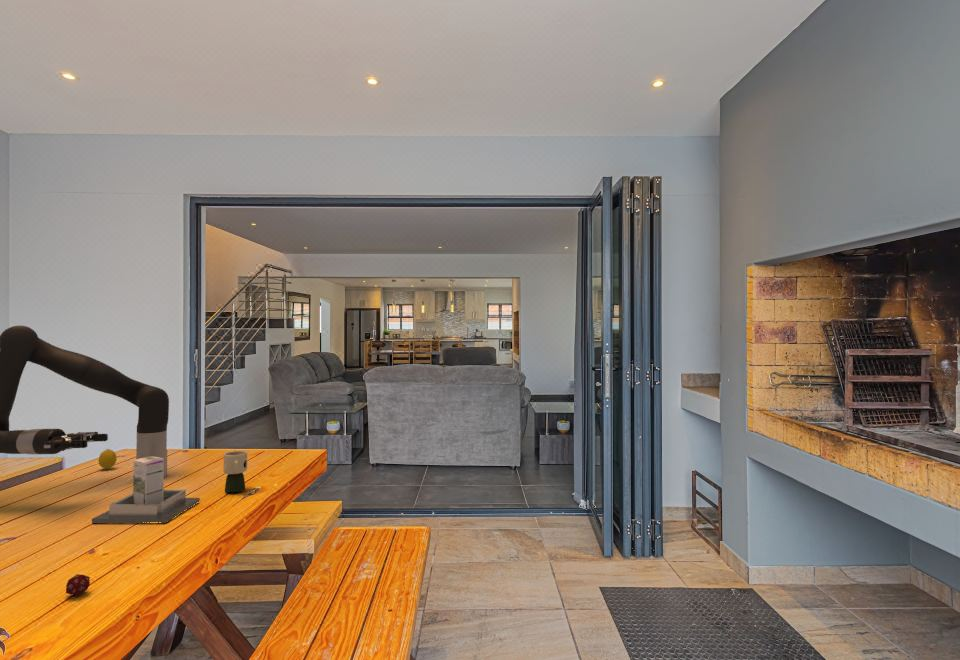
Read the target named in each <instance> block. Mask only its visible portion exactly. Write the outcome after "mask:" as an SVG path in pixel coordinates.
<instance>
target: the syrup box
mask: <svg viewBox="0 0 960 660" xmlns="http://www.w3.org/2000/svg"><path fill="white" fill-rule="evenodd" d="M132 462H133V465H132V466H133V472H132V473H133V474H132V475H133V478H132V482H133V485H132V488H133V490H132V491H133V492H132V494H133V504H159V503H161V502H163V492H164V490H165V489H164V484H165V483H164V482H165V481H164V480H165V478H164V459H163V458H159V457H152V456H150V457H144V458H140V459H137V460H136V459H135V460H133V461H132Z"/></svg>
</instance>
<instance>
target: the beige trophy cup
mask: <svg viewBox="0 0 960 660" xmlns="http://www.w3.org/2000/svg"><path fill="white" fill-rule="evenodd" d="M247 470H248V452H247V451H246V450H233V451H226V452H225V453H224V454H223V473H224V474H227V475H226V479H225V483H224V484H225V486H224V492H225V493H234V492H236V493H237V492H239V493H240V492H243V490H244V491H245V490H246V483H245V475H244V473H245V472H247Z"/></svg>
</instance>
